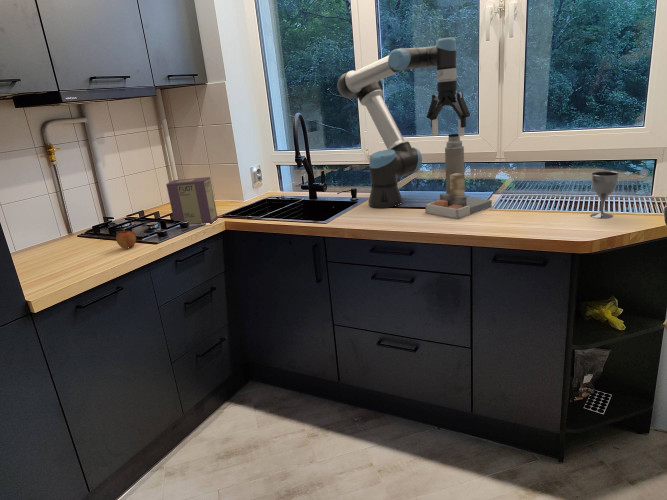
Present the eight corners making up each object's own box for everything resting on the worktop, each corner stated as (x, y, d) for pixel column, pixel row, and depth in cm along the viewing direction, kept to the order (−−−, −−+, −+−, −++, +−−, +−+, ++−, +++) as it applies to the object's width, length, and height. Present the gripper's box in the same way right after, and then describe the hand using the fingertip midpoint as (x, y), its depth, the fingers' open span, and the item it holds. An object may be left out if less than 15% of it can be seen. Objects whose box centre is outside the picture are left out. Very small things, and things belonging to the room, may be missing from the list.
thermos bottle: (449, 195, 217) (448, 133, 208) (466, 195, 213) (466, 132, 204) (443, 199, 211) (441, 135, 202) (461, 199, 207) (460, 134, 198)
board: (437, 209, 196) (437, 203, 195) (459, 201, 204) (459, 195, 203) (469, 214, 184) (469, 208, 183) (491, 206, 191) (491, 200, 190)
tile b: (446, 213, 186) (446, 208, 185) (454, 210, 189) (453, 204, 188) (455, 215, 183) (455, 209, 182) (463, 211, 185) (462, 205, 184)
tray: (425, 213, 192) (425, 204, 191) (437, 209, 196) (437, 200, 195) (457, 219, 180) (457, 209, 178) (469, 214, 184) (469, 205, 182)
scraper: (440, 204, 193) (439, 174, 190) (449, 201, 196) (448, 172, 193) (463, 207, 184) (463, 177, 180) (473, 204, 187) (472, 174, 183)
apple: (128, 251, 183) (123, 231, 181) (114, 250, 186) (109, 231, 184) (142, 245, 190) (137, 226, 187) (128, 244, 192) (123, 226, 190)
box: (218, 219, 218) (210, 176, 211) (211, 225, 209) (203, 180, 203) (183, 222, 219) (174, 180, 213) (175, 228, 211) (166, 184, 204)
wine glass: (611, 212, 168) (615, 170, 163) (617, 218, 161) (621, 175, 156) (586, 213, 170) (589, 171, 166) (591, 219, 163) (594, 176, 158)
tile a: (439, 210, 193) (435, 211, 191) (439, 199, 191) (434, 200, 190) (448, 211, 189) (443, 213, 188) (447, 200, 188) (443, 202, 186)
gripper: (416, 83, 193) (419, 136, 200) (466, 78, 174) (467, 137, 181) (429, 82, 197) (431, 134, 204) (479, 77, 178) (479, 134, 185)
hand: (448, 135), depth 192 cm, fingers open, 13 cm apart
